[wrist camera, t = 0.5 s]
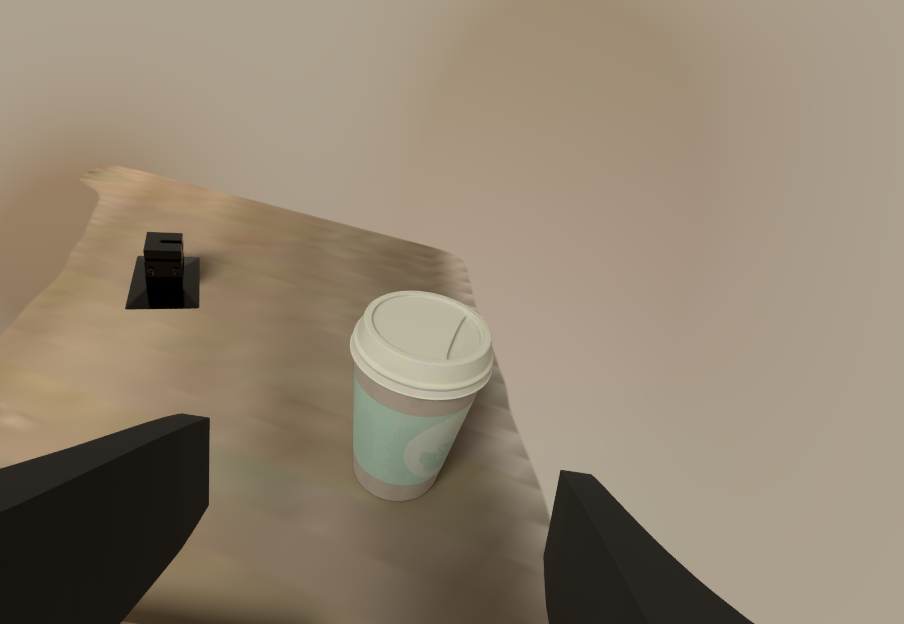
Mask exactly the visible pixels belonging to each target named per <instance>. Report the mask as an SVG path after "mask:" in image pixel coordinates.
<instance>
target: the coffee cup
mask: <svg viewBox="0 0 904 624" xmlns="http://www.w3.org/2000/svg"><path fill="white" fill-rule="evenodd" d="M350 350H351V354H352V356H353V359H354V420H353V469H354V473H355V476H356V478H357V480H358V481H359V483H360V484H361V485H362V486H363V487H364V488H365V489H366V490H367V491H369V492H370V493H372V494H373V495H375V496H377V497H380V498H383V499H386V500H391V501H407V500H412V499H415V498H417V497H420V496H421V495H423V494H425V493H426V492H427V491H428V490H429V489H430V488H431V487H432V485H433V484H434V482H435V480H436V478H437V476H438V474H439V471H440V469H441V467H442V465H443V463H444V461H445V459H446V457H447V455H448V453H449V451H450V449H451V447H452V445H453V443H454V440H455V438H456V436H457V434H458V432H459V430H460V428H461V426H462V424H463V422H464V420H465V418H466V415H467V413H468V411H469V409H470V407H471V405H472V403H473V401H474V399H475V397H476V395H477V392H478V390H479V389H481V388H482V387H483V386H484V385H485V384H486V383H487V382H488V380H489V379H490V377H491V374H492V371H493V361H494V353H493V349H492V337H491V332H490V329H489V327H488V326H487V324H486V323H485V321H484V320H483V319H482V318H481V317H480V316H479V315H478V314H477V313H476V312H475V311H474V310H472V309H471V308H469V307H468V306H466V305H464V304H462V303H460V302H458V301H456V300H454V299H451V298H448V297H446V296H442V295H439V294H434V293H429V292H422V291H399V292H393V293H389V294H386V295H383V296H381V297H379V298H377V299H375V300H374V301H373V302H372V303H370V305H369V306H368V307H367V309H366V311H365V313H364V315H363V316H362V317H361V318H360V319H359V321H358V322H357V324H356V326H355V328H354V332H353V334H352V336H351V340H350Z"/></svg>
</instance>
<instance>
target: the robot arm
mask: <svg viewBox="0 0 904 624" xmlns="http://www.w3.org/2000/svg"><path fill="white" fill-rule="evenodd" d="M209 430H210V418H208V417H201V416H195V415H188V414H176V415H171V416H167V417H163V418H160V419H156V420H153V421H150V422H147V423H143V424H140V425H137V426H134V427H131V428H128V429H125V430H122V431H119V432H116V433H113V434H110V435H107V436H104V437H101V438H98V439H95V440H92V441H89V442H86V443H83V444H80V445H77V446H74V447H71V448H68V449H64V450H61V451H58V452H54V453H51V454H48V455H44V456H41V457H38V458H35V459H31V460H28V461H25V462H21V463H18V464H15V465H12V466H8V467H5V468H1V469H0V624H120V623H121V622H122V621H123V620H124V618H125V617H126V616H127V615H128V614H129V612H130V611H131V610H132V609H133V608H134V606H135V605H136V604H137V603H138V602H139V600H140V599H141V598H142V597H143V596H144V594H145V593H146V592H147V591H148V590H149V588H150V587H151V586H152V585H153V584H154V582H155V581H156V580H157V579H158V577H159V576H160V575H161V574H162V572H163V571H164V570H165V569H166V568H167V566H168V565H169V564H170V563H171V561H172V560H173V559H174V558H175V556H176V555H177V554H178V553H179V551H180V550H181V549H182V547H183V546H184V544H185V543H186V541H187V540H188V538H189V537H190V535H191V533H192V532H193V530H194V529H195V527H196V526H197V524H198V522H199V521H200V519H201V517H202V516H203V514H204V512H205V511H206V509H207V507H208V506H209ZM543 558H544V578H545V595H546V608H547V614H548V620H549V624H754V623H752V622H751V621H750V620H748V619H747V618H746V617H744V616H743V615H742V614H740V613H739V612H738V611H737V610H735V609H734V608H733V607H732V606H730V605H729V604H728V603H727V602H725V601H724V600H723V599H721V598H720V597H719V596H718V595H716V594H715V593H714V592H713V591H711V590H710V589H709V588H708V587H707V586H705V585H704V584H703V583H702V582H701V581H699V580H698V579H697V578H696V577H695V576H693V574H692V573H690V572H689V571H688V570H687V569H686V568H685V567H684V566H683V565H682V564H680V563H679V562H678V561H677V560H676V559H675V558H674V557H673V556H672V555H671V554H669V553H668V552H667V551H666V550H665V549H664V548H663V547H662V546H661V545H660V544H659V543H658V542H657V541H656V540H655V539H654V538H653V537H652V536H651V535H650V534H649V533H648V532H647V531H646V530H645V529H644V528H643V527H642V526H641V525H640V524H639V523H638V522H637V521H636V520H635V519H634V518H633V517H632V516H631V515H630V514H629V513H628V512H627V511H626V510H625V509H624V507H623V506H622V505H621V504H620V503H619V502H618V501H617V500H616V499H615V498H614V497H613V496H612V495H611V494H610V493H609V492H608V491H607V490H606V488H605V487H604V486H603V485H602V484H601V483H600V482H599V481H598V480H597V479H596V478H595V477H594V476H592V475H591V474H585V473H578V472H572V471H565V470H561V471H560V476H559V481H558V486H557V491H556V496H555V501H554V506H553V511H552V516H551V521H550V526H549V531H548V536H547V542H546V547H545V552H544V557H543Z"/></svg>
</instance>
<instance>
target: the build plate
mask: <svg viewBox="0 0 904 624" xmlns="http://www.w3.org/2000/svg"><path fill="white" fill-rule="evenodd" d="M143 251H144V256H138V257H137V261H136V265H135V269H134V273H133V277H132V282H131V286H130V290H129V294H128V299H127V303H126V307H125V309H190V308H199V258H198V257H184V247H183V234H182V233H159V232H147V235H146V240H145V245H144V250H143Z"/></svg>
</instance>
